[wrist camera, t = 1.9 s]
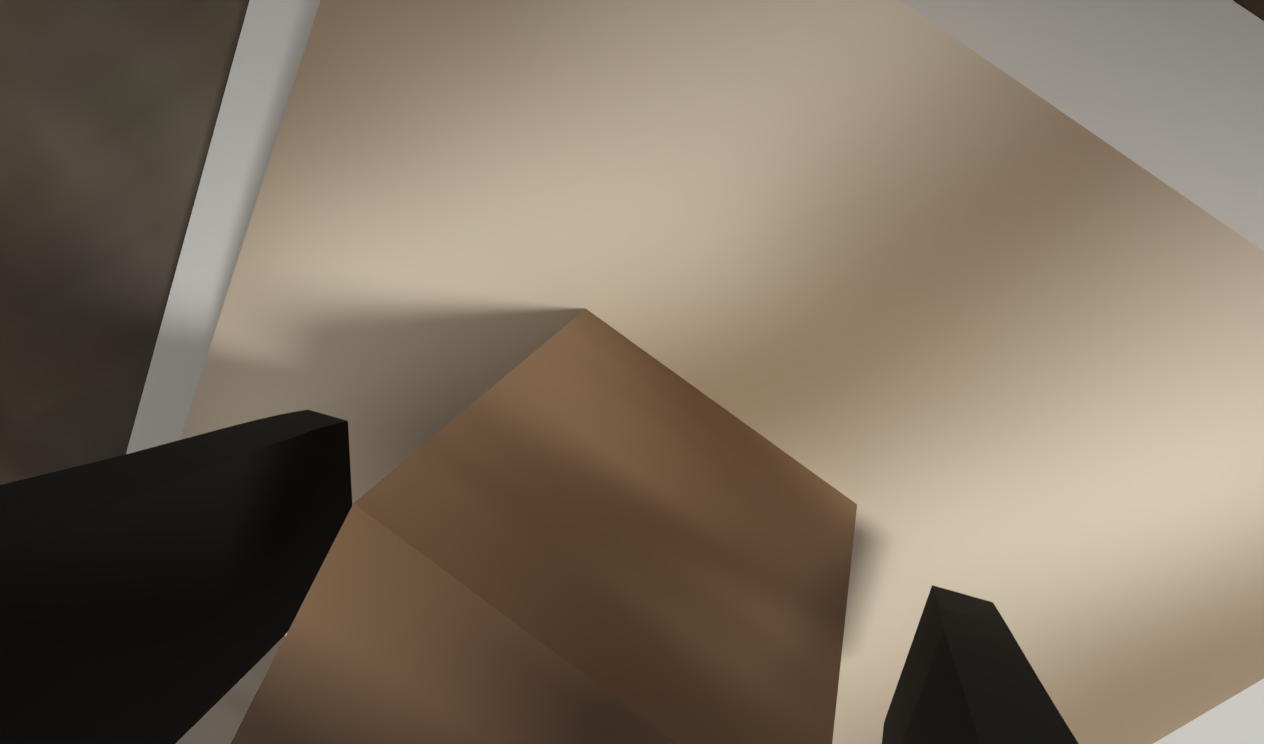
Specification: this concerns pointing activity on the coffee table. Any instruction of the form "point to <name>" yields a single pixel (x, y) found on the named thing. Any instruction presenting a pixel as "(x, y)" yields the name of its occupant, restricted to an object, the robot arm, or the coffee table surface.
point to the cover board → (734, 380)
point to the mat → (957, 3)
